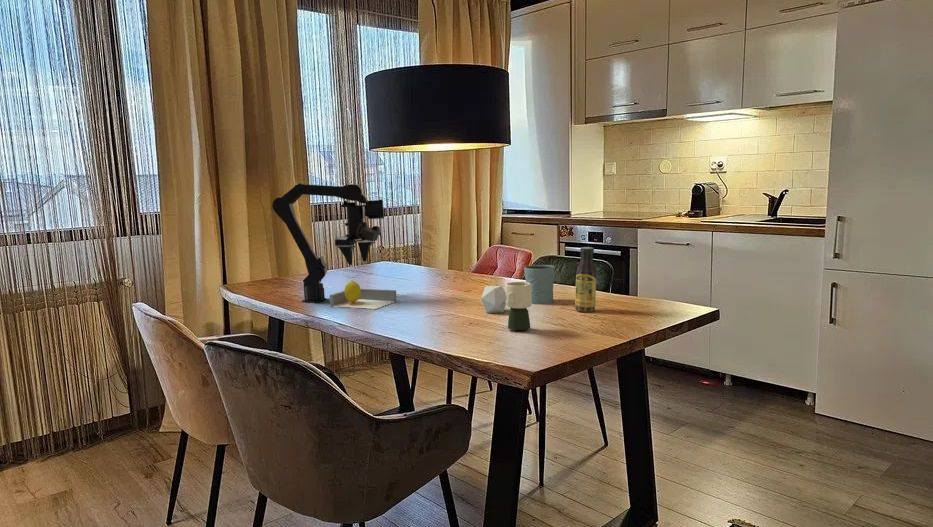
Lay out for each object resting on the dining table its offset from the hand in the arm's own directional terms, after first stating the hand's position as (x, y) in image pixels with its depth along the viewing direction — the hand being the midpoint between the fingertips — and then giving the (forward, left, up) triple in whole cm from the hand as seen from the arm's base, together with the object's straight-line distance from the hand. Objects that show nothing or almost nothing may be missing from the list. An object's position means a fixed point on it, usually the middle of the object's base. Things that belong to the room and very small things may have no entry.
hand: (357, 263), depth 223 cm
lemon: (+4, -10, -13) cm, 17 cm away
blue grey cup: (+64, +12, -13) cm, 66 cm away
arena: (+7, -8, -13) cm, 17 cm away
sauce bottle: (+82, +2, -13) cm, 83 cm away
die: (+55, -7, -13) cm, 57 cm away
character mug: (+70, -27, -13) cm, 76 cm away
